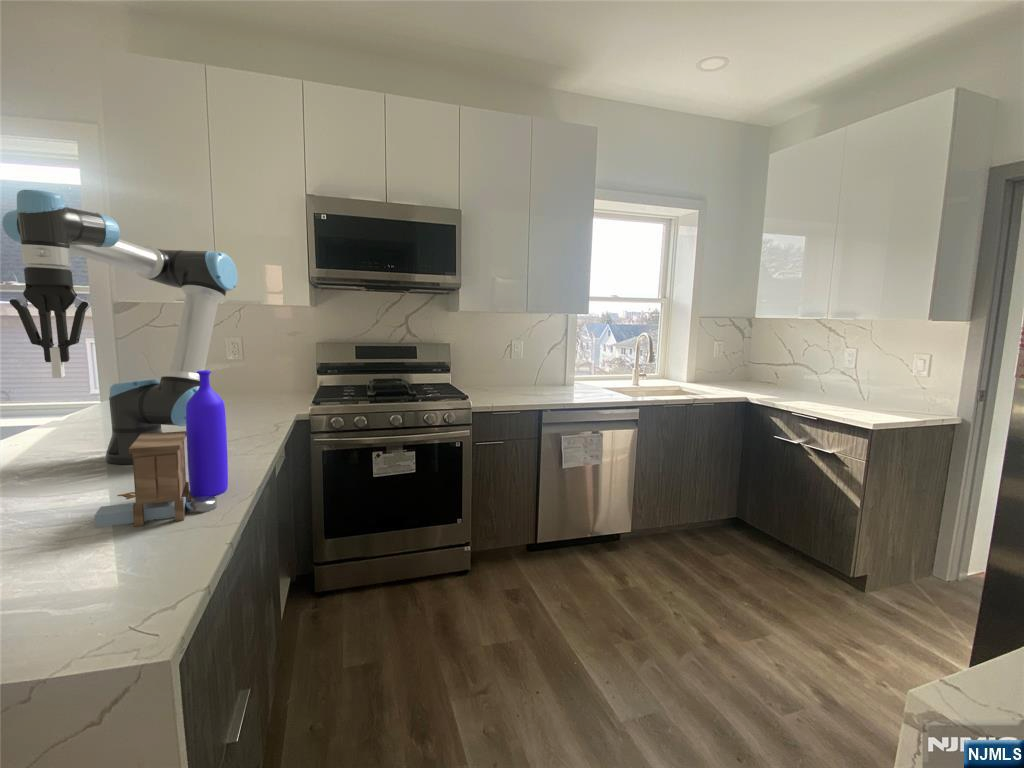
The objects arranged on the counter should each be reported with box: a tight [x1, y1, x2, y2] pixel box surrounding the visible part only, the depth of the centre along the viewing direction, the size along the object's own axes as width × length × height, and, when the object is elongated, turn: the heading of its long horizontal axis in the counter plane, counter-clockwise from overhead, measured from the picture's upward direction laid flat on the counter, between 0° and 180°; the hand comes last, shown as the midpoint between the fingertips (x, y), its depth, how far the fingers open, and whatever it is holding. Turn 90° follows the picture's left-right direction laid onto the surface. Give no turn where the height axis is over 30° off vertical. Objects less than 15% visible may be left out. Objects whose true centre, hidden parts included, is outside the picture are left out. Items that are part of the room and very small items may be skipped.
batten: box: [94, 497, 186, 528], centre depth 106 cm, size 5×15×3 cm, turn 119°
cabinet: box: [129, 430, 190, 528], centre depth 107 cm, size 14×8×16 cm, turn 28°
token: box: [185, 496, 218, 515], centre depth 112 cm, size 6×6×2 cm
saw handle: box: [116, 491, 135, 500], centre depth 126 cm, size 24×5×1 cm, turn 146°
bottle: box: [185, 369, 229, 498], centre depth 120 cm, size 8×8×30 cm
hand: (59, 376), depth 109 cm, fingers closed
